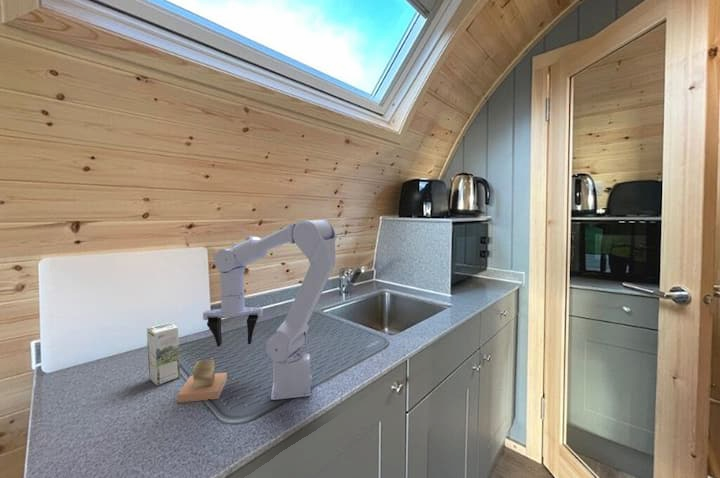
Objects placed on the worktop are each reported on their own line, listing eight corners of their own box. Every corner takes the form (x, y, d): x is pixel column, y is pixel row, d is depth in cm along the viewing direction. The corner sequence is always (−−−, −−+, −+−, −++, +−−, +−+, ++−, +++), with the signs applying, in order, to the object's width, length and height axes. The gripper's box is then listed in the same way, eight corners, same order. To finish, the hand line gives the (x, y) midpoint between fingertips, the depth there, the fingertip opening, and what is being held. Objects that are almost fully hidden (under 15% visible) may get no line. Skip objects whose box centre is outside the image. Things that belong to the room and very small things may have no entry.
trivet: (226, 381, 87) (226, 372, 87) (218, 400, 78) (217, 391, 78) (191, 384, 85) (190, 375, 85) (178, 404, 77) (177, 394, 76)
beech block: (214, 377, 84) (214, 359, 84) (211, 386, 80) (210, 366, 80) (198, 379, 83) (197, 361, 83) (193, 388, 79) (192, 368, 79)
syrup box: (172, 371, 92) (169, 321, 90) (181, 378, 88) (178, 326, 86) (149, 379, 87) (145, 327, 86) (157, 387, 83) (154, 332, 82)
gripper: (263, 288, 90) (264, 335, 91) (207, 291, 87) (209, 339, 89) (260, 295, 83) (261, 346, 84) (199, 298, 81) (202, 350, 82)
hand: (234, 343), depth 86 cm, fingers open, 7 cm apart
